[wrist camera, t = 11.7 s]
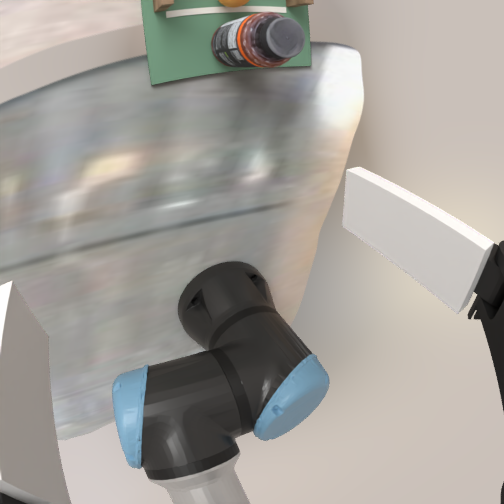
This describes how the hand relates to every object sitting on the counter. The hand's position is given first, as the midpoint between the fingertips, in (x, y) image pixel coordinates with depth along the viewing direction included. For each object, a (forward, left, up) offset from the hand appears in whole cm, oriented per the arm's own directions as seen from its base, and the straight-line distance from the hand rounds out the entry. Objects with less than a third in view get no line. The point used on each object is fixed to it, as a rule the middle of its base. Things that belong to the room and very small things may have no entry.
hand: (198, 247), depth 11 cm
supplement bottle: (+7, -14, -26) cm, 31 cm away
